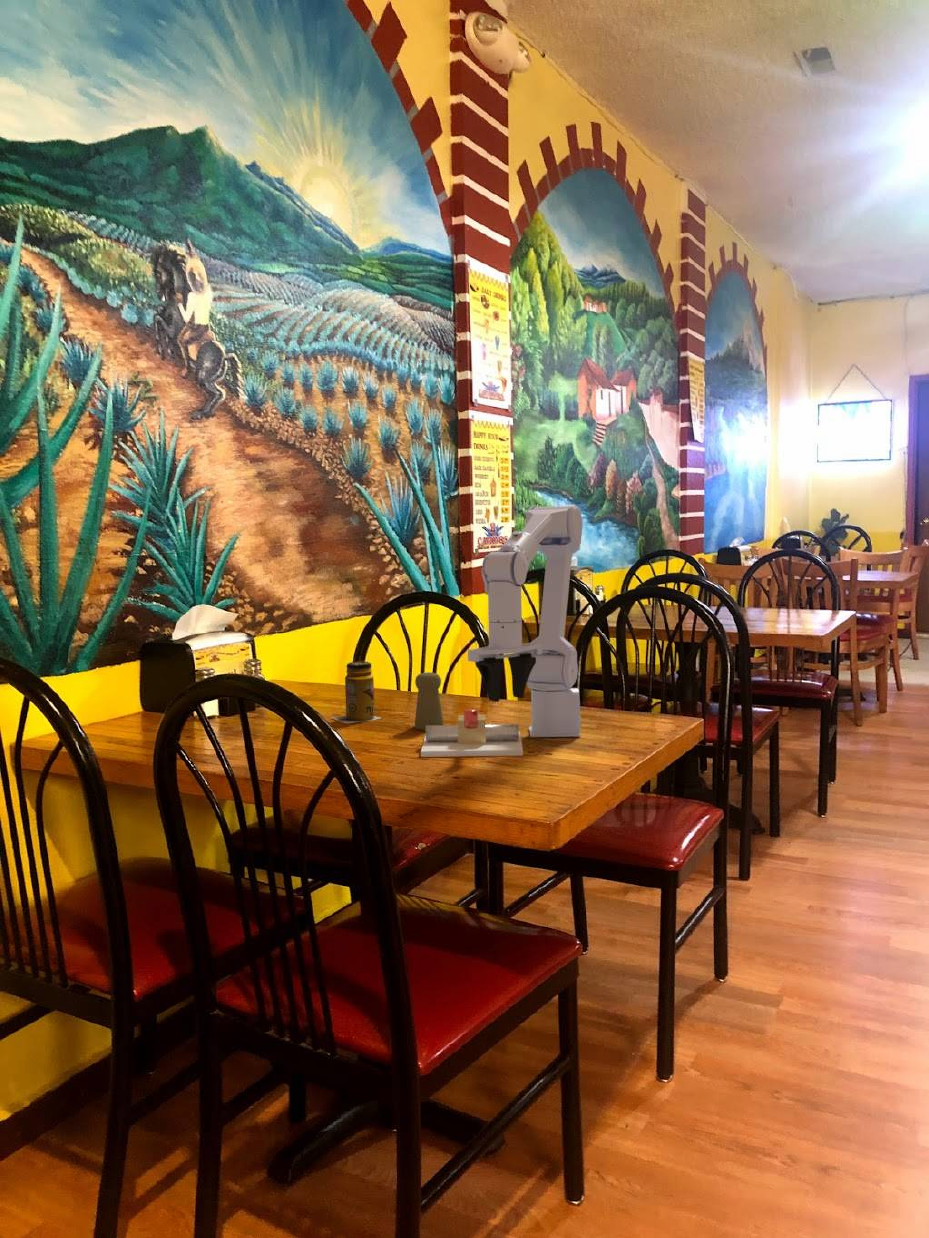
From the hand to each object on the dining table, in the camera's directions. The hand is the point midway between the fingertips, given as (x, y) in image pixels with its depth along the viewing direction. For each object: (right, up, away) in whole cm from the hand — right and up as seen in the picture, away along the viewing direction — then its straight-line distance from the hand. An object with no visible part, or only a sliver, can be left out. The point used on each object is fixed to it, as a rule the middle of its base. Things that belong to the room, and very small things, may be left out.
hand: (506, 699), depth 168 cm
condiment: (-30, -8, +38) cm, 49 cm away
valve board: (-6, -10, +10) cm, 15 cm away
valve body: (-6, -10, +10) cm, 15 cm away
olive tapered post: (-14, -8, +28) cm, 33 cm away
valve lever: (-6, -4, +5) cm, 9 cm away
